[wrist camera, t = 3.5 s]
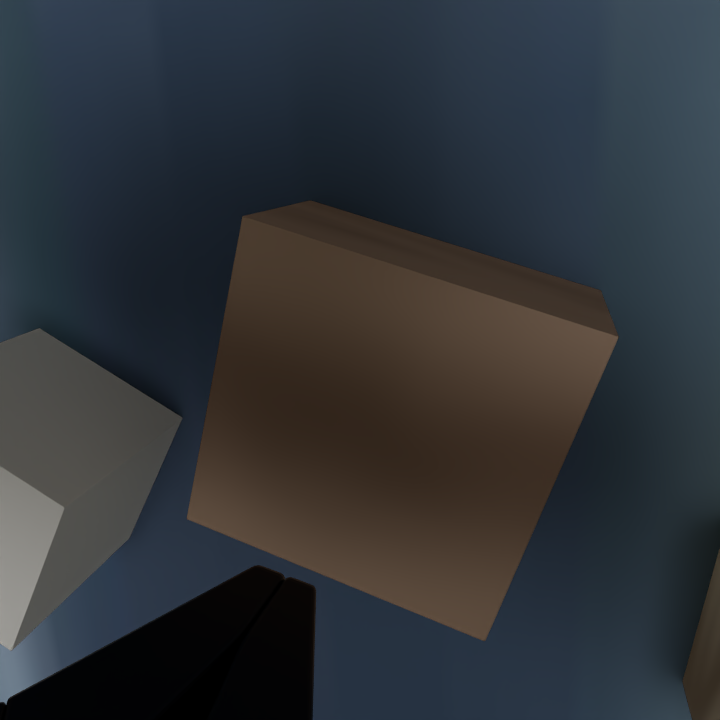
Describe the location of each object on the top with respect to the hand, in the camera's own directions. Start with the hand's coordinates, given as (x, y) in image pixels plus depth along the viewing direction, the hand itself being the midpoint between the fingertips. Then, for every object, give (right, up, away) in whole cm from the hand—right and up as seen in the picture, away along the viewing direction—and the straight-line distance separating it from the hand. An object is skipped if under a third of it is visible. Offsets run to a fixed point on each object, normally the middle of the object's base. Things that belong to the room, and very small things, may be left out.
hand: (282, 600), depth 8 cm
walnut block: (+2, +3, +8) cm, 9 cm away
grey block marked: (-7, +1, +11) cm, 13 cm away
